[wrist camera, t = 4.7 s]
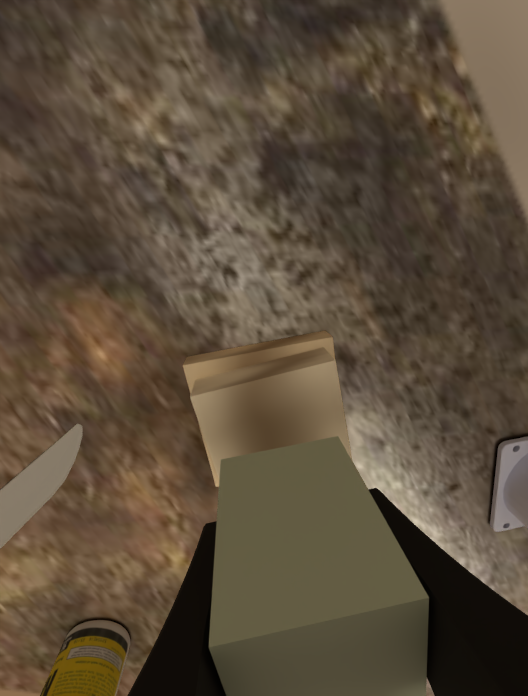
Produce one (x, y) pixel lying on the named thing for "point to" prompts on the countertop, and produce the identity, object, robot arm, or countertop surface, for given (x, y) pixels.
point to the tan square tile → (270, 405)
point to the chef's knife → (37, 483)
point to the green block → (311, 582)
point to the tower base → (251, 361)
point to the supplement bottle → (89, 661)
